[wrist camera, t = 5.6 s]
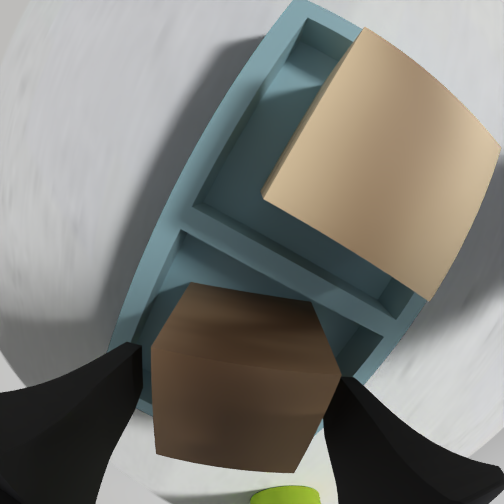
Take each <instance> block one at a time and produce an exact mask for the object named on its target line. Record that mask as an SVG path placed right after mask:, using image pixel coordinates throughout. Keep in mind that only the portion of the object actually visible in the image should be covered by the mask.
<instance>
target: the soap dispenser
mask: <svg viewBox="0 0 504 504" xmlns="http://www.w3.org/2000/svg"><path fill="white" fill-rule="evenodd" d="M250 504H321V503H320V497H319V493H318V492H317V491H316V490H315V489H312V488H309V487H304V486H282V487H275V488H270V489H266V490H263V491H260V492H258V493H256V494H255V495H253V496H252V498H251V500H250Z"/></svg>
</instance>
